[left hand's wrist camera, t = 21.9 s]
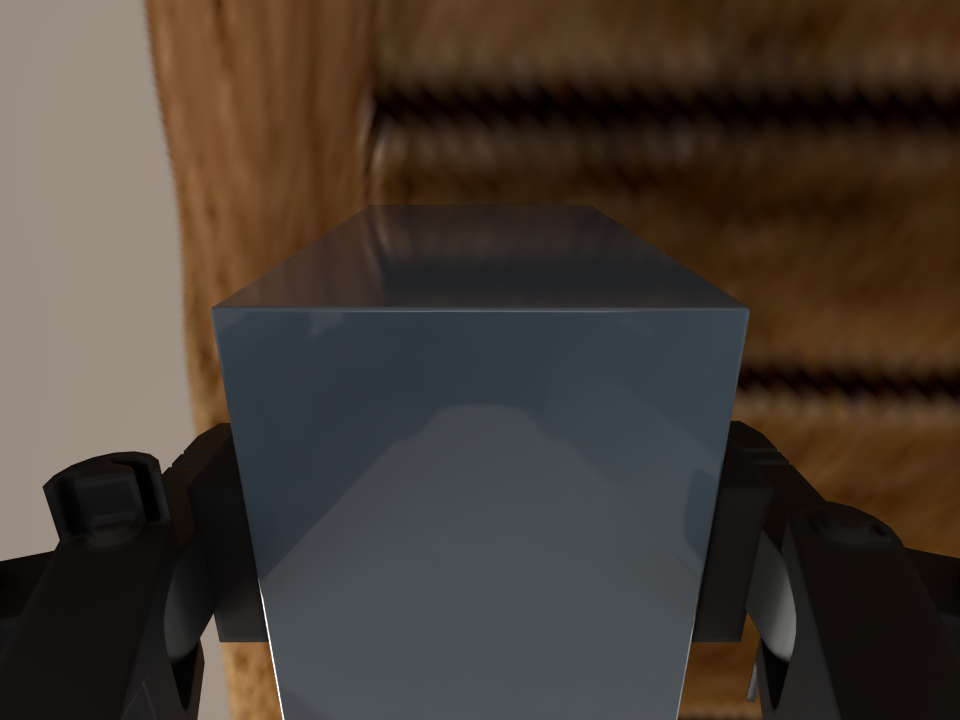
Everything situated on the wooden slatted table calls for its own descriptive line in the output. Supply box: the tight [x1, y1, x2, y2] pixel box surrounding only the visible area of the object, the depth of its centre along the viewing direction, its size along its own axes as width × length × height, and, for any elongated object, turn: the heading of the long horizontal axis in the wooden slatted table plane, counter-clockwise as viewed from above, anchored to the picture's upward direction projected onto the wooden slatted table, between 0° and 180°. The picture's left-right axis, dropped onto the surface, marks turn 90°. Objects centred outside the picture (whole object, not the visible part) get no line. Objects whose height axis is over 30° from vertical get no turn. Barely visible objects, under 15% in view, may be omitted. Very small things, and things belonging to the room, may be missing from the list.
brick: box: [211, 205, 750, 720], centre depth 13 cm, size 6×8×10 cm
